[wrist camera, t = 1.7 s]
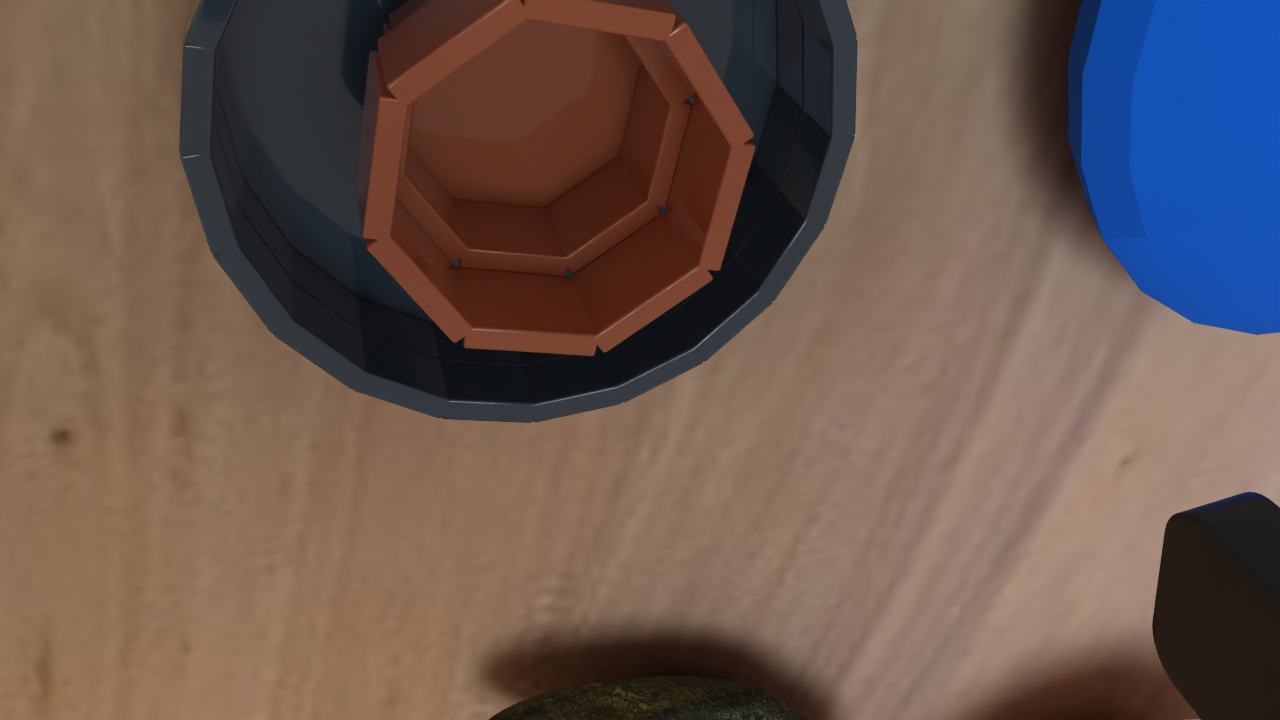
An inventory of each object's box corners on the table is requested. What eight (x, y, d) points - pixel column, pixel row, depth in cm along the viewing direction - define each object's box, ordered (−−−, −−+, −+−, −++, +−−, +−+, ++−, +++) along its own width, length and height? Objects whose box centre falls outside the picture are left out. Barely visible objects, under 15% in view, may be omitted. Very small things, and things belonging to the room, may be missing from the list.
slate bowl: (181, 314, 25) (169, 408, 22) (208, -332, 19) (196, -318, 16) (709, 350, 29) (757, 433, 26) (865, -176, 23) (948, -143, 20)
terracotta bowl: (337, 214, 24) (349, 341, 20) (372, -106, 21) (395, -32, 17) (629, 242, 26) (694, 364, 22) (698, -45, 23) (789, 33, 19)
